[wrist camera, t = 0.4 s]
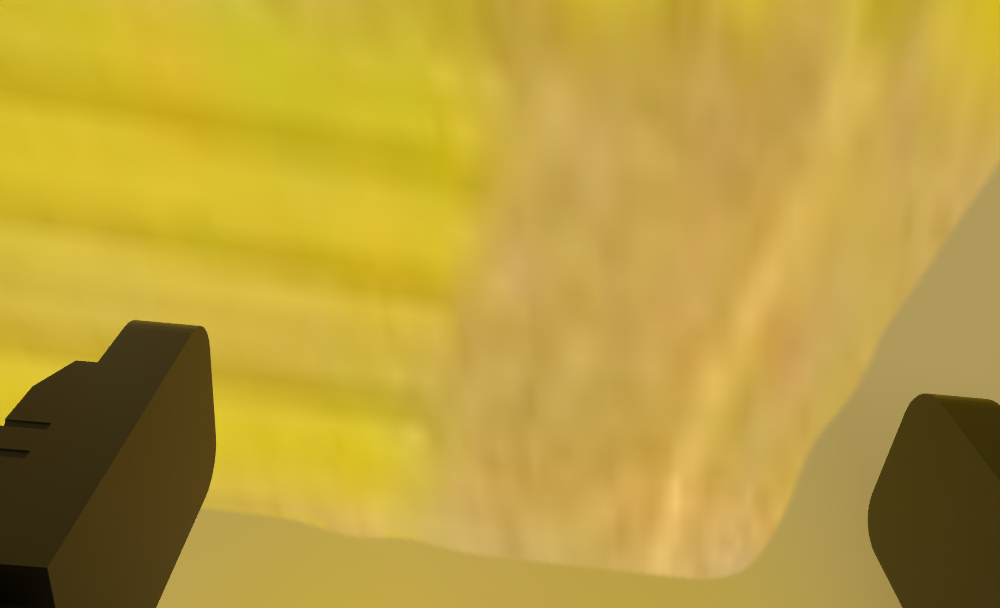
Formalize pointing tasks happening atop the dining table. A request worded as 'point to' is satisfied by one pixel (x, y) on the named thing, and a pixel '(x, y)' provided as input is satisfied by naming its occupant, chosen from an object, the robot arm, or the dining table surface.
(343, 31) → the dining table surface
